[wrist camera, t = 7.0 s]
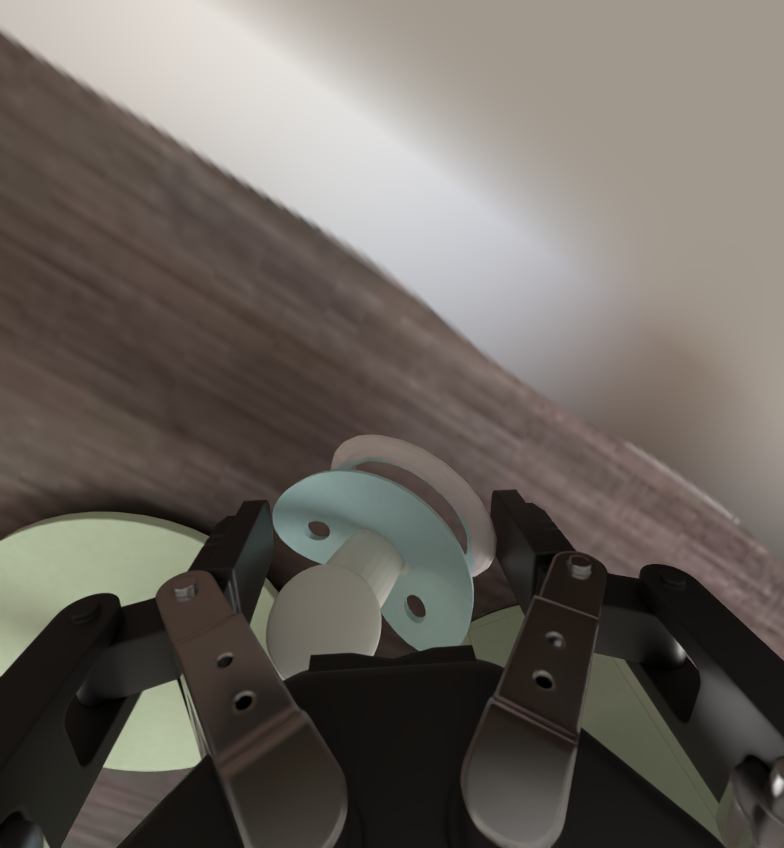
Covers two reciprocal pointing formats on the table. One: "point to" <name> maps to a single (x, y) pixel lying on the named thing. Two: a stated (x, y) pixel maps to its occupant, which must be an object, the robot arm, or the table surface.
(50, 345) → the table surface
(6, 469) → the table surface
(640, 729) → the crock
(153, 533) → the lid
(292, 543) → the pacifier
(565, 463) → the table surface
